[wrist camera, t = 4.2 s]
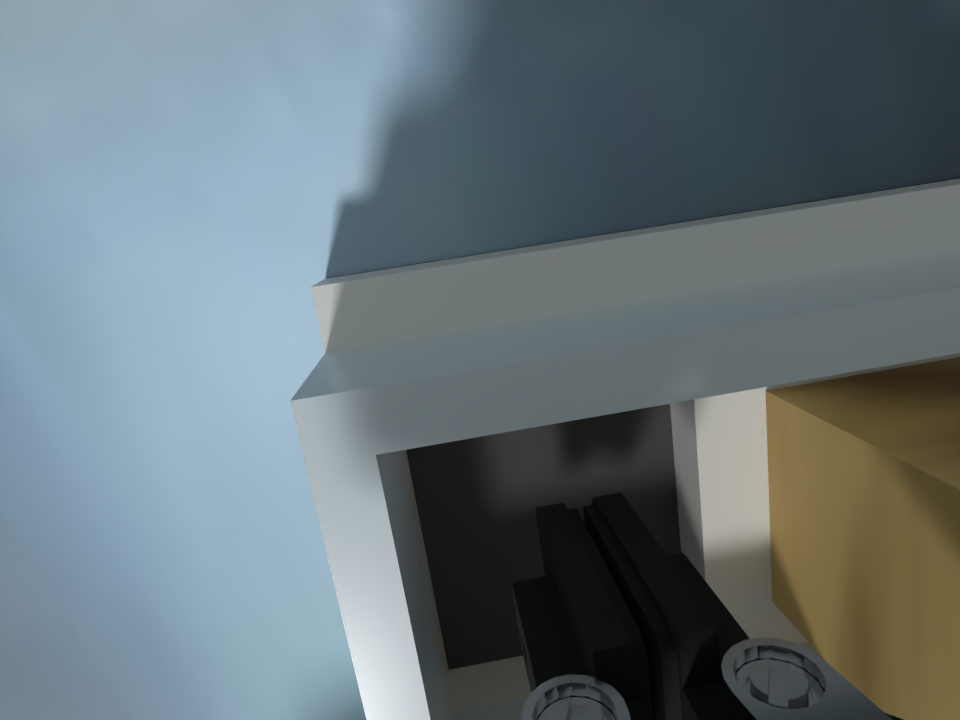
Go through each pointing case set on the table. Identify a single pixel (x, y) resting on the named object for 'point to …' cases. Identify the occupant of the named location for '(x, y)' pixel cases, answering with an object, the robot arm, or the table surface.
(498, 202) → the table surface
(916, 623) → the block
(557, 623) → the robot arm
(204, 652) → the table surface
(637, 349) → the channel
